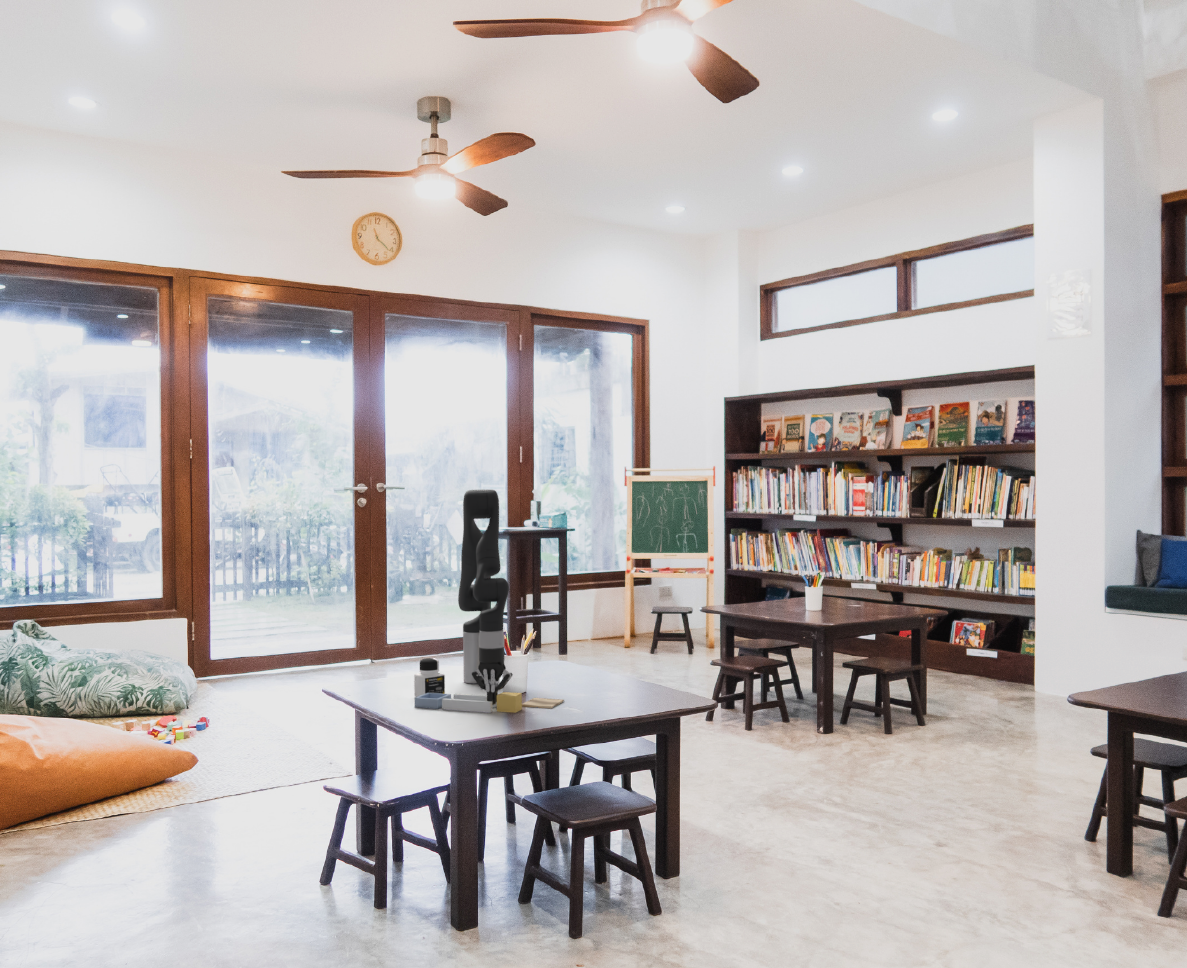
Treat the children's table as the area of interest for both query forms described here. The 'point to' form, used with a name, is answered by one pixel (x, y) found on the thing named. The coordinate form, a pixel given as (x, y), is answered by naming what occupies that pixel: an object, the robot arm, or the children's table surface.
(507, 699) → the ochre block
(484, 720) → the children's table surface
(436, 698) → the bin
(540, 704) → the cork pad
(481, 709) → the frosted channel
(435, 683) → the medicine bottle
